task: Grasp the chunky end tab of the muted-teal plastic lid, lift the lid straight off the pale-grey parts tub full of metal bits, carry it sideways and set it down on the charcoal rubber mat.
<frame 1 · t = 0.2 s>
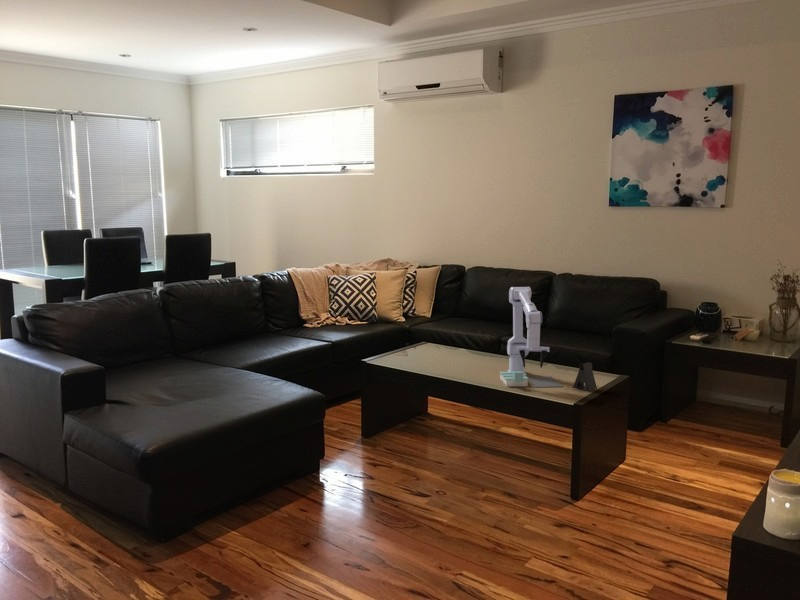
hand: (532, 366, 310), 10 cm above the table, fingers open, 7 cm apart
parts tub: (513, 382, 320), on the table
phone stand: (584, 389, 309), on the table
mat: (543, 382, 321), on the table
lid: (513, 376, 320), point 3 cm above the table, touching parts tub
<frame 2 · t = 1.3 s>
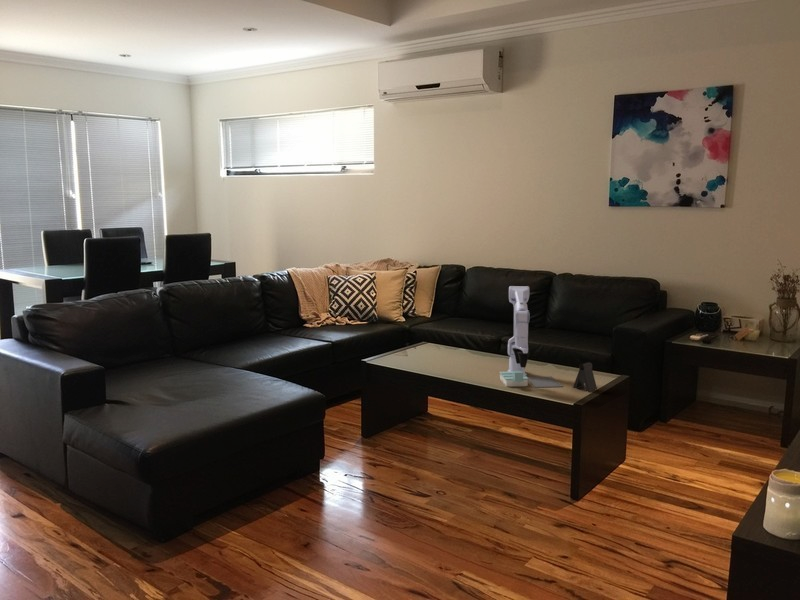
hand: (520, 365, 312), 10 cm above the table, fingers open, 7 cm apart
nothing on the table moved.
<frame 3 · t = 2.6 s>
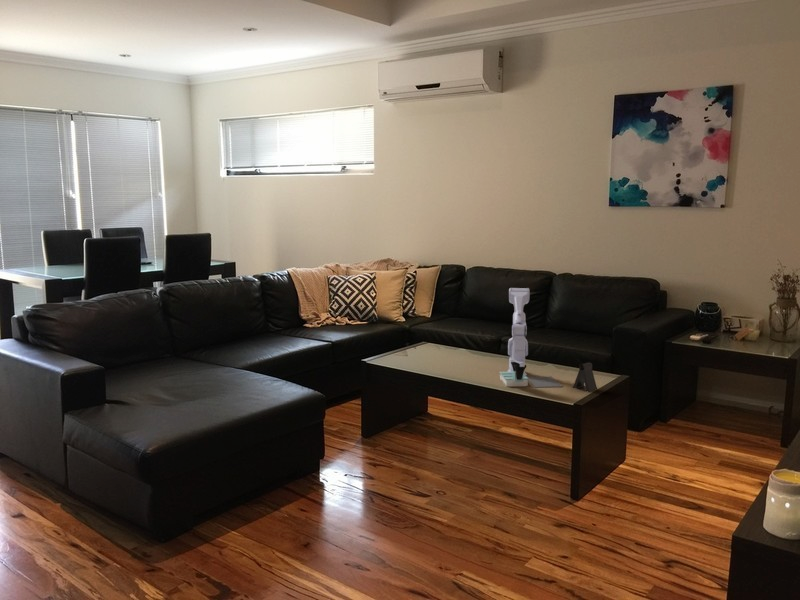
hand: (518, 378, 311), 4 cm above the table, fingers closed on lid, 3 cm apart
lid: (513, 376, 320), point 3 cm above the table, touching gripper, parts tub
everything else where it was.
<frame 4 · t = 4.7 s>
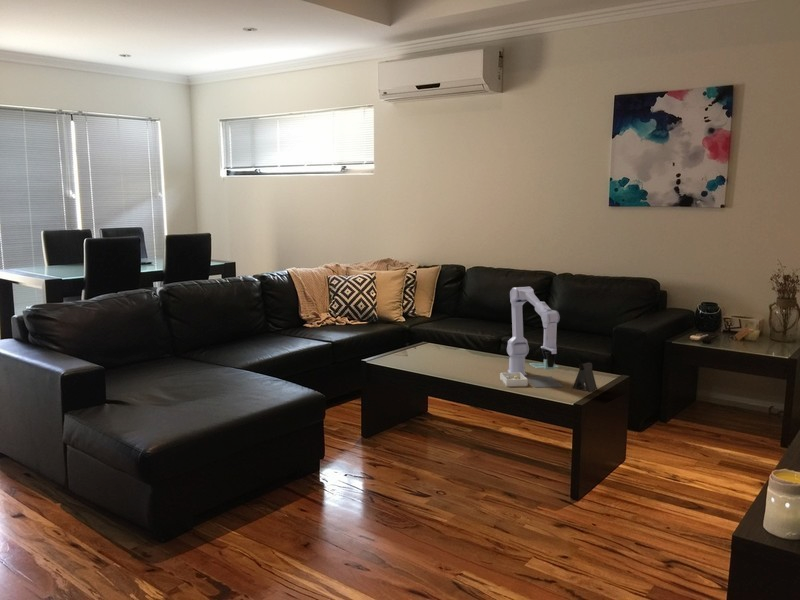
hand: (549, 365, 312), 10 cm above the table, fingers closed on lid, 3 cm apart
lid: (543, 365, 320), point 8 cm above the table, touching gripper
everything else where it was.
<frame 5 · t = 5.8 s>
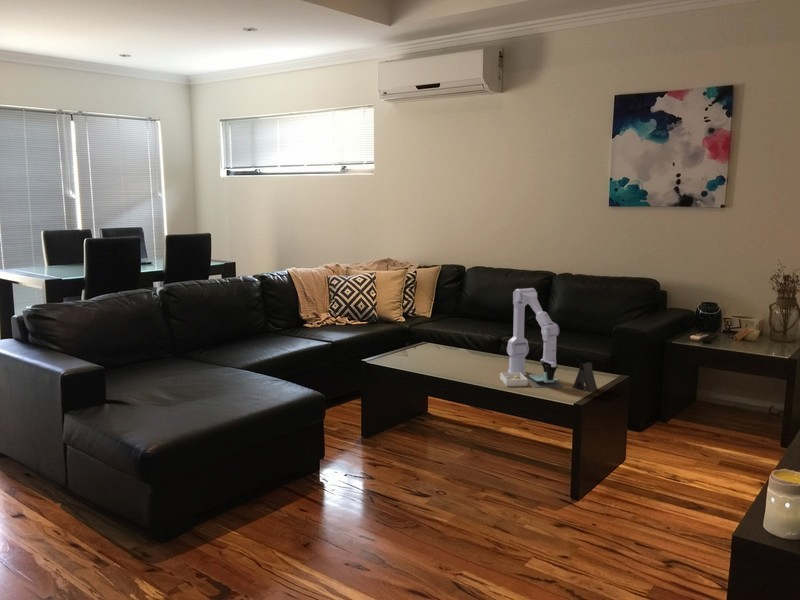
hand: (548, 378, 313), 4 cm above the table, fingers closed on lid, 3 cm apart
lid: (543, 378, 321), point 2 cm above the table, touching gripper
everything else where it was.
when the fingers open (3 cm above the table, at t = 6.5 s): lid stays where it is, resting on mat.
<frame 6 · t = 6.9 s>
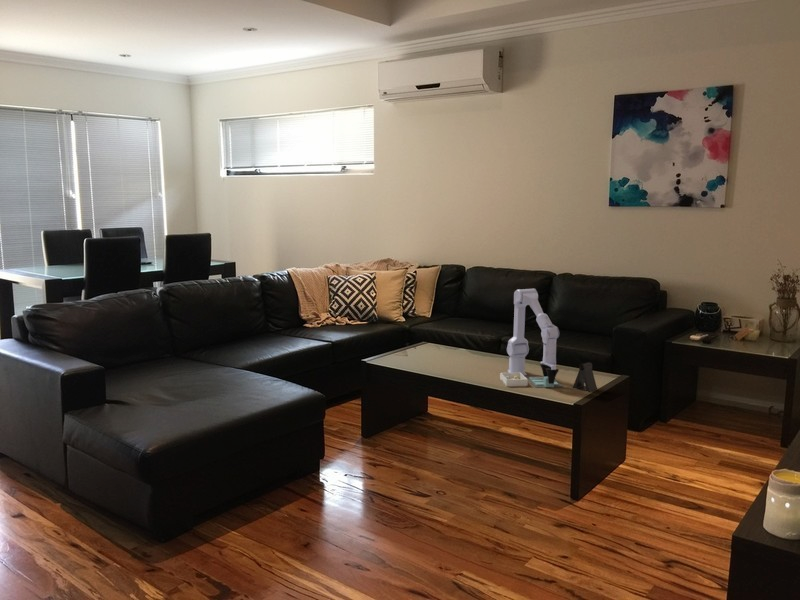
hand: (548, 381, 313), 3 cm above the table, fingers open, 7 cm apart
lid: (543, 381, 321), resting on mat
everything else where it was.
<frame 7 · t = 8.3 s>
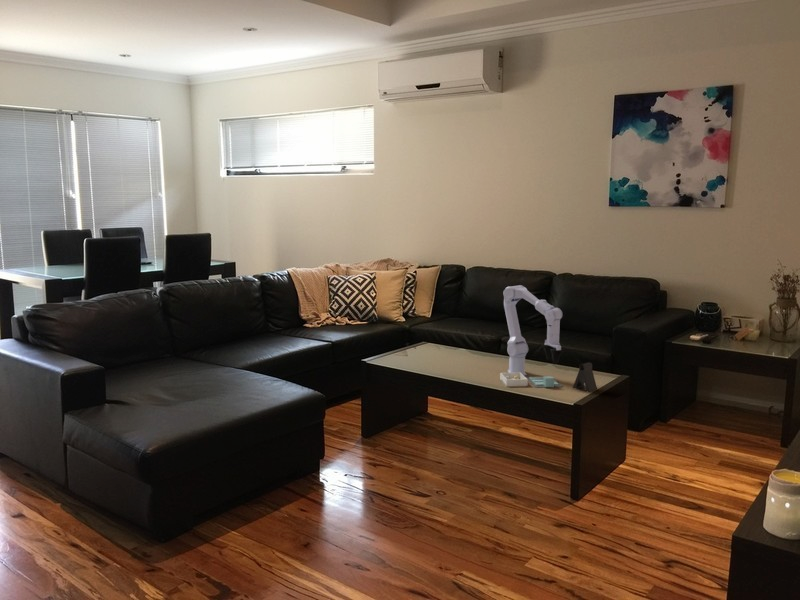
hand: (552, 361, 320), 10 cm above the table, fingers open, 7 cm apart
nothing on the table moved.
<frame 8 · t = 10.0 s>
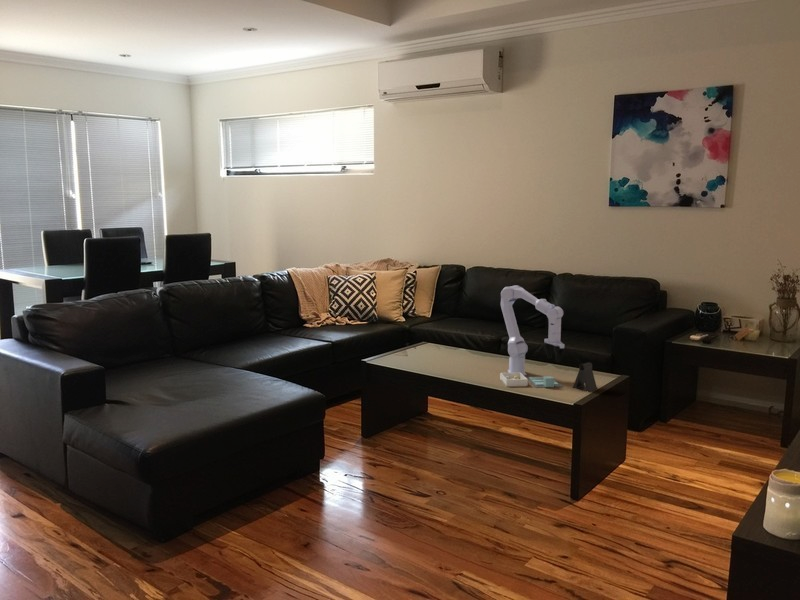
hand: (553, 360, 323), 10 cm above the table, fingers open, 7 cm apart
nothing on the table moved.
at the end: lid inside the target area (0.5 cm from its centre), resting on mat; lid touching mat; the gripper is holding nothing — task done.
